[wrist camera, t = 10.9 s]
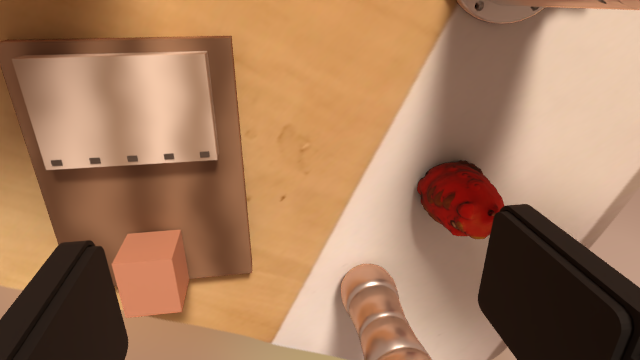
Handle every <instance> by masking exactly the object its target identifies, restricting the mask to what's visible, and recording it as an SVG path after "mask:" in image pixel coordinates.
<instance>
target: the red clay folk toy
mask: <svg viewBox="0 0 640 360" xmlns="http://www.w3.org/2000/svg"><path fill="white" fill-rule="evenodd" d="M417 191H418V193H419V194H420V195H421V204H422V205H423V207H424V209H425V210H426V211H427V212H428V214H429V215H430V216H431V217H432V218H433V219H434V220H435V221H437V222H438V223H440V224H442V225H443V226H444V227H446V228H447V229H448V230H449V231H450V232H451V233H452V234H453V235H456V236H470V237H471V238H474V239H485V238H486V237H487V236H488V235H490V233H491V228H492V223H493V218H494V215H495V214H496V213H497V212H499V211H500V209H501V208H502V207H504V203H503V200H502V198H501V196H500V195H499V193H498V192H497V189H496V188H495V187H494V186H493V185H492V184H491V183H490V181H489V180H488V179H487V178H486V177H485V176H484V175H483V173H482V171H481V169H479V168H478V167H477V166H475V165H474V164H472V163H468V162H467V161H462V160H460V161H458V162H450V163H443V164H440V165H438V166H436V167H433V168H431V169H430V170H429V171H428V172H427V173H426V176H425V177H424V178H422V179H421V180H420V181H419V183H418V187H417Z"/></svg>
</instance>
